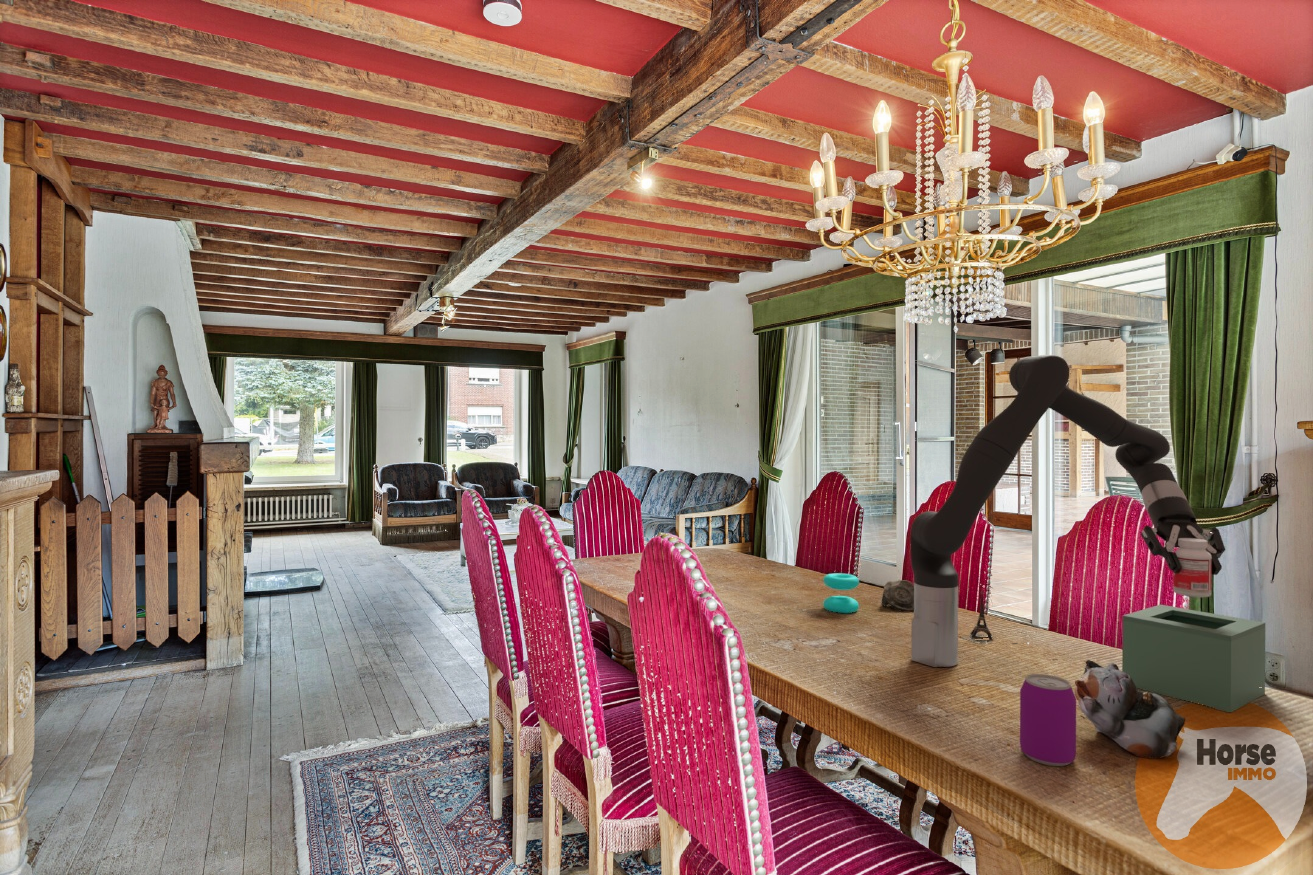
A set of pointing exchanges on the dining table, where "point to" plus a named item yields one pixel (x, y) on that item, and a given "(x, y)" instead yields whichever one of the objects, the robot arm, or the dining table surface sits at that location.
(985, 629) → the eiffel tower figurine
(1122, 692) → the lucky cat figurine
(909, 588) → the fossil
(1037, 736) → the beverage can
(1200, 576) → the pill bottle
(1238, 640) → the box
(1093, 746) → the dining table surface
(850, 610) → the donuts
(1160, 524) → the robot arm
